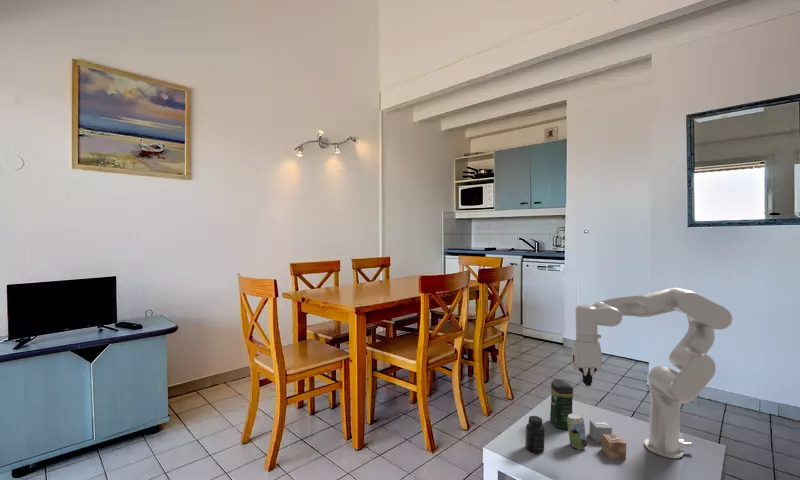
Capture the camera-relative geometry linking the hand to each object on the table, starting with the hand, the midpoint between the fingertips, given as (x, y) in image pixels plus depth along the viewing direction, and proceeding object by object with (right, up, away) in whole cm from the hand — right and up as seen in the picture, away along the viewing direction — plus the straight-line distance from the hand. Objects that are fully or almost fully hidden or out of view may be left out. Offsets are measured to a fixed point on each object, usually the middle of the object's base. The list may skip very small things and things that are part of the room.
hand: (587, 384), depth 149 cm
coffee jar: (-3, -24, +17) cm, 29 cm away
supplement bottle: (-22, -24, -3) cm, 32 cm away
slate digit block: (+8, -24, +6) cm, 26 cm away
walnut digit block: (+7, -24, -5) cm, 26 cm away
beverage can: (-4, -24, 0) cm, 24 cm away
